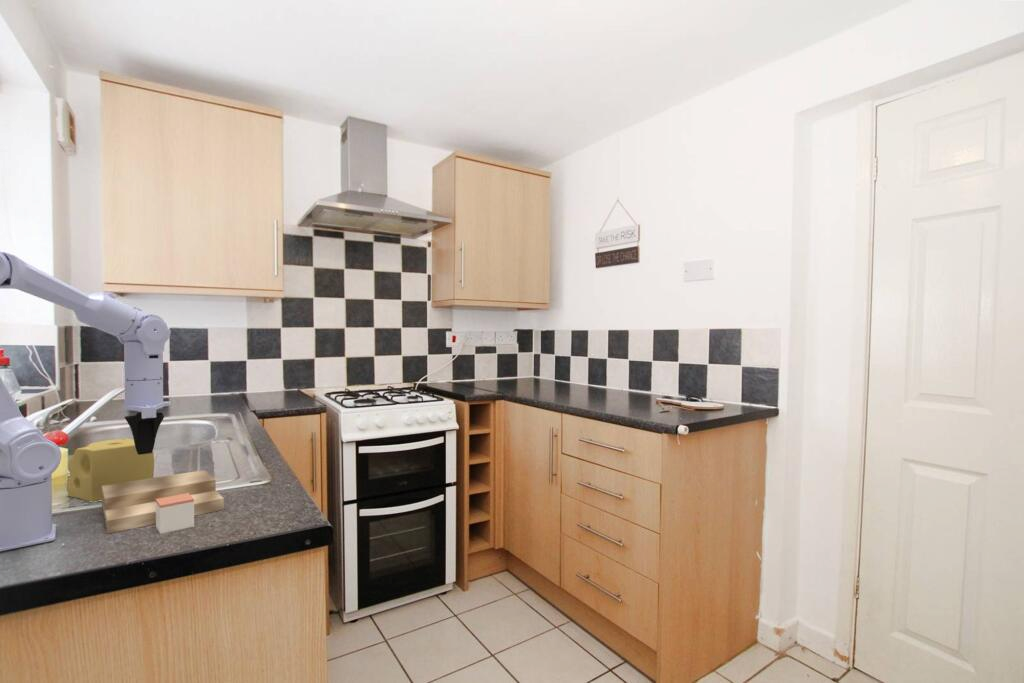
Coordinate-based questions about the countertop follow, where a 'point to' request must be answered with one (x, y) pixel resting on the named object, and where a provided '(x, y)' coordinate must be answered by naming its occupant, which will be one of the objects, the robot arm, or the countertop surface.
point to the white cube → (174, 513)
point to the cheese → (106, 467)
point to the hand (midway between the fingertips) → (144, 453)
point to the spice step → (138, 498)
